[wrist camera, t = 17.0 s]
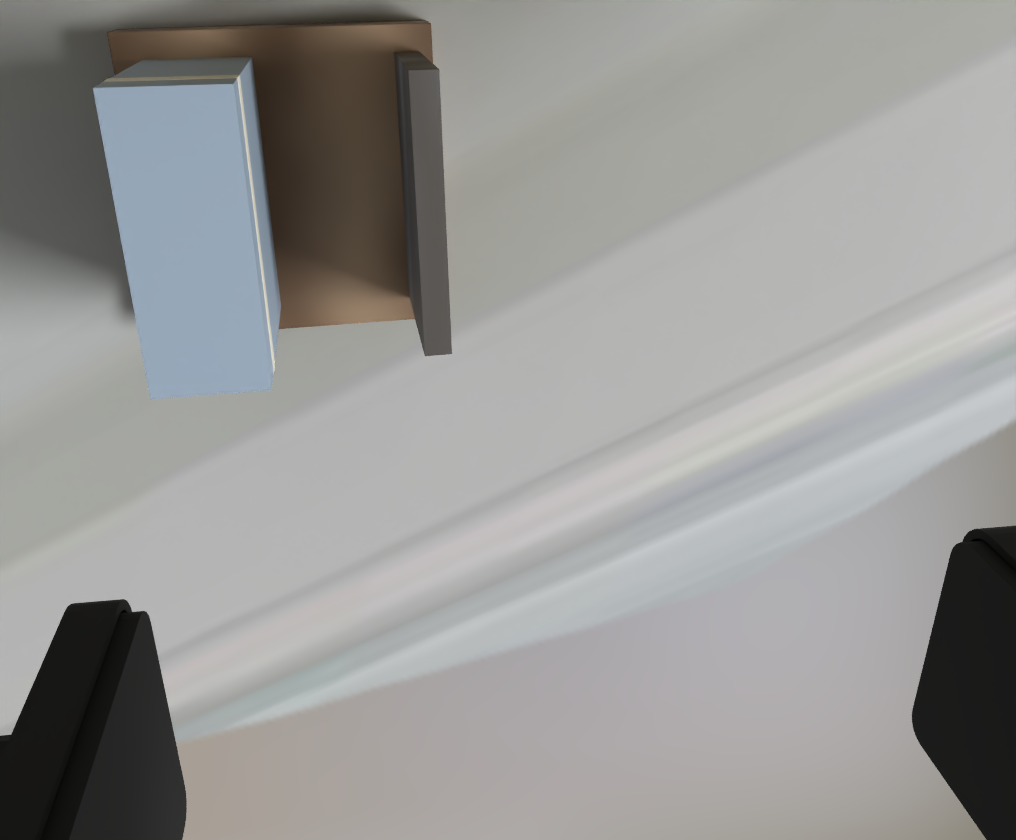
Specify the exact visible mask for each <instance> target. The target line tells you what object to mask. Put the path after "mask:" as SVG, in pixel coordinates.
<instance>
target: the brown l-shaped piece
mask: <svg viewBox="0 0 1016 840" xmlns="http://www.w3.org/2000/svg"><path fill="white" fill-rule="evenodd" d="M107 34H108V40H109V45H110V51H111V56H112V62H113V67H114V73H115V75H117V74H118V73H120V72H122V71H124V70H126V69H127V68H129V67H131V66H133V65H134V64H136V63H138V62H140V61H141V60H150V59H190V58H231V57H252V60H253V69H254V77H255V86H256V95H257V103H258V112H259V120H260V129H261V138H262V146H263V155H264V164H265V172H266V181H267V190H268V198H269V207H270V215H271V224H272V233H273V241H274V250H275V259H276V267H277V276H278V285H279V293H280V302H281V311H280V320H279V329H285V328H298V327H312V326H325V325H339V324H352V323H366V322H379V321H393V320H406V319H415V320H416V324H417V328H418V331H419V335H420V339H421V343H422V347H423V350H424V354H425V356H432V355H445V354H452V347H451V325H450V302H449V280H448V258H447V236H446V213H445V191H444V169H443V146H442V124H441V102H440V80H439V69H438V68H437V67H436V66H435V65H434V64H433V57H432V35H431V23H429V22H428V21H393V22H357V23H322V24H286V25H251V26H215V27H180V28H144V29H117V30H114V31H111V32H108V33H107Z"/></svg>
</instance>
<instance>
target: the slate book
mask: <svg viewBox="0 0 1016 840" xmlns="http://www.w3.org/2000/svg"><path fill="white" fill-rule="evenodd" d="M93 92H94V97H95V103H96V108H97V113H98V119H99V124H100V130H101V135H102V140H103V146H104V151H105V157H106V162H107V167H108V173H109V178H110V184H111V189H112V194H113V200H114V205H115V211H116V216H117V222H118V227H119V232H120V238H121V243H122V249H123V254H124V259H125V265H126V270H127V276H128V281H129V286H130V292H131V297H132V303H133V308H134V313H135V319H136V324H137V330H138V335H139V340H140V346H141V351H142V357H143V362H144V367H145V373H146V378H147V384H148V389H149V394H150V399H161V398H174V397H187V396H201V395H214V394H227V393H240V392H253V391H266V390H272V382H273V373H274V370H275V356H276V347H277V338H278V329H279V320H280V311H281V302H280V293H279V285H278V276H277V267H276V259H275V250H274V241H273V233H272V224H271V215H270V207H269V198H268V190H267V181H266V172H265V164H264V155H263V146H262V138H261V129H260V120H259V112H258V103H257V95H256V86H255V77H254V69H253V60H252V57H231V58H190V59H150V60H141V61H140V62H138V63H136V64H134V65H133V66H131V67H129V68H127V69H126V70H124V71H122V72H120V73H118V74H117V75H115V76H113V77H111V78H108V79H106V80H104V81H103V82H102V83H101V84H99V85H97V86H95V87H94V88H93Z"/></svg>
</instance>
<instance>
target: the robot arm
mask: <svg viewBox="0 0 1016 840" xmlns="http://www.w3.org/2000/svg"><path fill="white" fill-rule="evenodd" d="M912 723H913V728H914V732H915V735H916V737H917V739H918V741H919V743H920V745H921V746H922V748H923V749H924V750H925V752H926V753H927V755H928V756H929V757H930V759H931V761H932V762H933V763H934V765H935V766H936V767H937V769H938V770H939V772H940V773H941V775H942V776H943V778H944V779H945V780H946V782H947V783H948V785H949V786H950V788H951V789H952V790H953V792H954V793H955V795H956V796H957V798H958V799H959V801H960V802H961V803H962V805H963V806H964V808H965V809H966V811H967V812H968V814H969V815H970V816H971V818H972V819H973V821H974V822H975V823H976V825H977V826H978V828H979V829H980V831H981V832H982V834H983V835H984V836H985V838H986V839H987V840H1016V526H1007V527H995V528H983V529H974V530H972V531H969V532H968V533H967V534H966V536H965V537H964V539H963V542H961V543H958V544H956V545H955V546H954V547H953V549H952V552H951V555H950V558H949V563H948V567H947V571H946V575H945V579H944V583H943V587H942V591H941V596H940V599H939V604H938V608H937V612H936V616H935V620H934V624H933V628H932V632H931V636H930V640H929V645H928V649H927V653H926V657H925V661H924V665H923V669H922V673H921V677H920V682H919V686H918V690H917V694H916V698H915V702H914V706H913V711H912ZM185 821H186V791H185V785H184V780H183V775H182V771H181V766H180V761H179V756H178V751H177V746H176V742H175V737H174V732H173V727H172V722H171V718H170V713H169V708H168V703H167V698H166V694H165V689H164V684H163V679H162V674H161V670H160V665H159V660H158V655H157V650H156V646H155V641H154V636H153V631H152V626H151V622H150V618H149V615H148V614H147V612H145V611H140V612H132V610H131V607H130V605H129V603H128V602H127V601H126V600H124V599H122V600H110V601H98V602H86V603H74V604H71V605H69V606H68V607H67V609H66V611H65V612H64V615H63V617H62V619H61V621H60V624H59V626H58V628H57V631H56V633H55V635H54V638H53V640H52V642H51V644H50V647H49V649H48V651H47V654H46V656H45V658H44V661H43V663H42V665H41V668H40V670H39V672H38V674H37V677H36V679H35V681H34V684H33V686H32V688H31V691H30V693H29V695H28V697H27V700H26V702H25V704H24V707H23V709H22V711H21V714H20V716H19V718H18V720H17V723H16V725H15V727H14V730H13V732H12V734H11V735H4V736H0V840H182V837H183V832H184V827H185Z"/></svg>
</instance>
